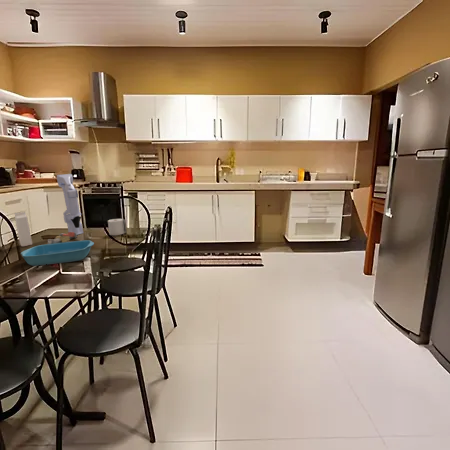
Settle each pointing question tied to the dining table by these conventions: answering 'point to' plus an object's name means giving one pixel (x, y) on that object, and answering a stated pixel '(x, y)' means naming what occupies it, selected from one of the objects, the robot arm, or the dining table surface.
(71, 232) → the lever
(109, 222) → the toilet tissue
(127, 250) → the dining table surface
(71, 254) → the casserole dish
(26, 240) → the milk
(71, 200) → the robot arm
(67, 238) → the valve body
